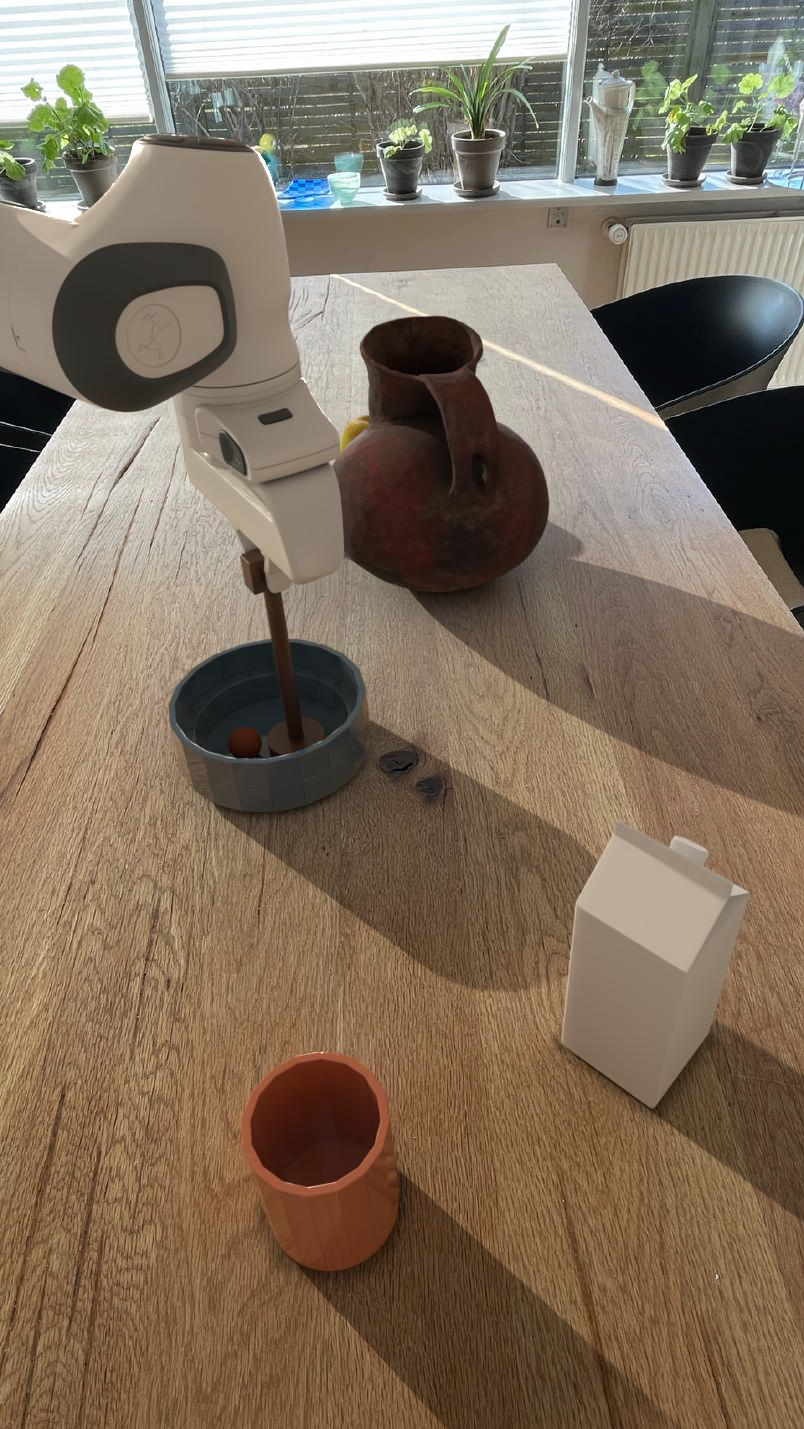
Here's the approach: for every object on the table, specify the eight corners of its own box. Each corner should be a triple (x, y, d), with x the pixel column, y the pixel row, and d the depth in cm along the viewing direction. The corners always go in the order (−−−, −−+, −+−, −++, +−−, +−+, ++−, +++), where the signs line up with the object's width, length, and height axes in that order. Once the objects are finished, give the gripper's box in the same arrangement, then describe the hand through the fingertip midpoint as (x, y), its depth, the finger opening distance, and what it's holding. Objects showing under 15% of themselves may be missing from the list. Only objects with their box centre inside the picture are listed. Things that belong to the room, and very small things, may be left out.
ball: (258, 769, 85) (230, 764, 83) (244, 751, 87) (217, 746, 85) (272, 741, 85) (245, 735, 83) (258, 724, 87) (231, 718, 85)
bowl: (230, 848, 79) (216, 793, 74) (156, 735, 90) (140, 682, 86) (405, 765, 85) (401, 710, 81) (315, 670, 96) (308, 617, 92)
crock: (306, 1301, 53) (282, 1227, 46) (247, 1181, 58) (218, 1099, 51) (424, 1220, 56) (417, 1140, 49) (357, 1112, 61) (343, 1027, 54)
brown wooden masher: (285, 777, 83) (248, 577, 70) (259, 744, 86) (220, 548, 73) (337, 753, 85) (311, 555, 72) (310, 722, 88) (280, 528, 75)
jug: (345, 640, 100) (319, 412, 84) (322, 525, 119) (298, 321, 103) (574, 609, 102) (592, 380, 86) (516, 501, 121) (522, 297, 105)
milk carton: (652, 1111, 60) (698, 926, 48) (559, 1044, 64) (579, 857, 51) (709, 1034, 64) (765, 844, 51) (618, 975, 67) (649, 785, 55)
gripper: (143, 372, 71) (180, 536, 80) (261, 470, 57) (290, 655, 66) (221, 352, 73) (249, 514, 82) (353, 442, 59) (368, 624, 68)
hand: (268, 578), depth 74 cm, fingers closed on brown wooden masher
